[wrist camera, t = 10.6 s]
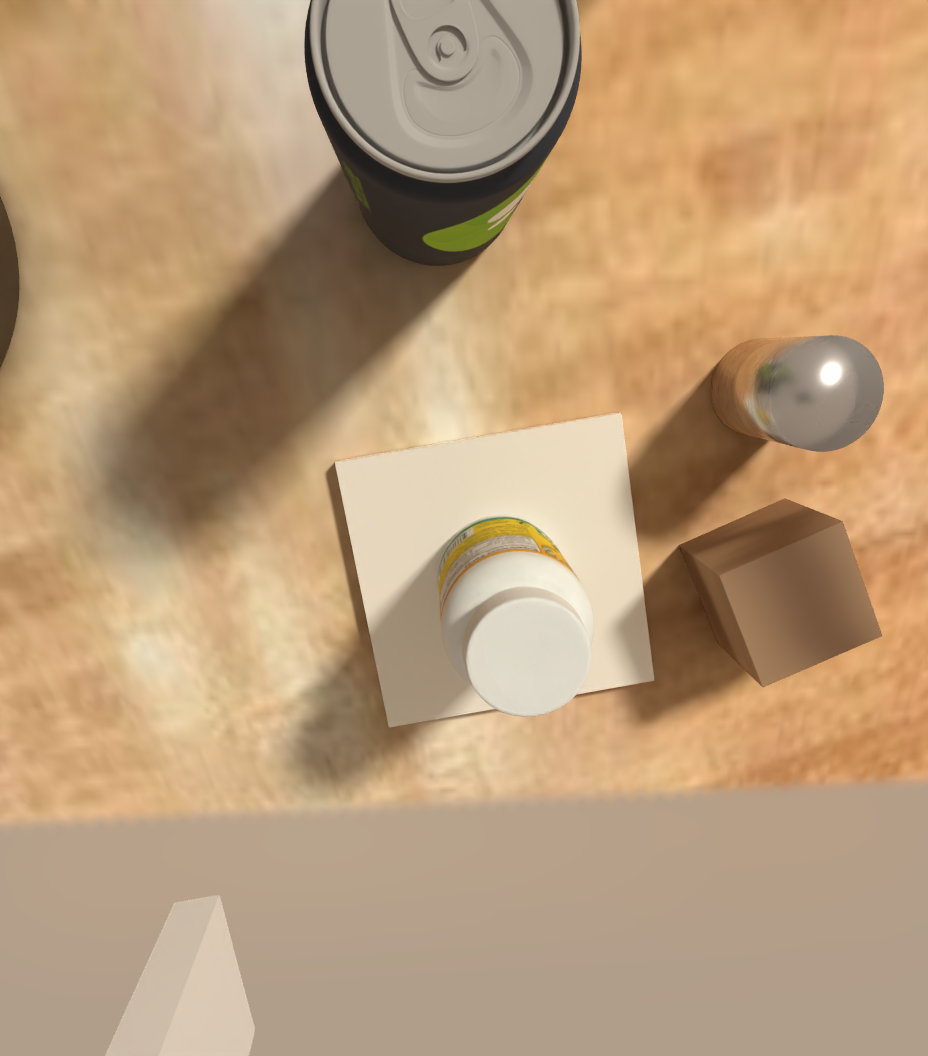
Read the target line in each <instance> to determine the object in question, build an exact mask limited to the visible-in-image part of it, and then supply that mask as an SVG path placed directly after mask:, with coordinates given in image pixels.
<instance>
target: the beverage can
mask: <svg viewBox="0 0 928 1056" xmlns="http://www.w3.org/2000/svg"><path fill="white" fill-rule="evenodd" d="M305 64H306V72H307V78H308V83H309V87H310V91H311V95H312V98H313V101H314V104H315V107H316V110H317V112H318V115H319V117H320V119H321V121H322V124H323V126H324V128H325V130H326V133H327V135H328V137H329V139H330V142H331V144H332V146H333V149H334V151H335V153H336V155H337V158H338V160H339V162H340V164H341V167H342V169H343V171H344V173H345V176H346V178H347V180H348V182H349V185H350V187H351V189H352V192H353V194H354V196H355V198H356V201H357V203H358V205H359V207H360V210H361V212H362V214H363V216H364V218H365V220H366V222H367V224H368V226H369V227H370V229H371V230H372V231H373V233H374V234H375V235H376V237H377V238H378V239H379V240H380V241H381V242H382V243H383V244H384V245H385V246H387V247H388V248H389V249H390V250H392V251H393V252H395V253H396V254H398V255H400V256H401V257H403V258H406V259H408V260H410V261H413V262H416V263H420V264H425V265H450V264H455V263H459V262H462V261H465V260H467V259H469V258H471V257H473V256H475V255H477V254H479V253H480V252H482V251H483V250H484V249H486V248H487V247H488V246H489V245H490V244H491V243H492V242H493V241H494V240H495V239H496V238H497V237H498V236H499V234H500V233H501V232H502V230H503V229H504V227H505V225H506V224H507V222H508V221H509V219H510V217H511V216H512V214H513V212H514V211H515V209H516V208H517V206H518V204H519V203H520V201H521V199H522V198H523V196H524V194H525V193H526V191H527V190H528V188H529V186H530V185H531V183H532V181H533V180H534V178H535V177H536V175H537V173H538V172H539V170H540V168H541V167H542V165H543V163H544V162H545V160H546V159H547V157H548V155H549V154H550V152H551V150H552V149H553V147H554V146H555V144H556V142H557V141H558V139H559V137H560V136H561V134H562V132H563V130H564V128H565V126H566V124H567V122H568V119H569V117H570V114H571V112H572V109H573V106H574V103H575V100H576V96H577V91H578V87H579V81H580V73H581V37H580V25H579V14H578V7H577V1H576V0H311V2H310V6H309V10H308V15H307V20H306V28H305Z"/></svg>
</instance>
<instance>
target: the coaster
mask: <svg viewBox="0 0 928 1056" xmlns="http://www.w3.org/2000/svg"><path fill="white" fill-rule="evenodd" d="M335 466H336V471H337V476H338V481H339V486H340V491H341V496H342V500H343V505H344V510H345V515H346V520H347V525H348V530H349V535H350V540H351V545H352V549H353V554H354V559H355V564H356V569H357V574H358V579H359V584H360V589H361V594H362V598H363V603H364V608H365V613H366V618H367V623H368V628H369V633H370V638H371V643H372V647H373V652H374V657H375V662H376V667H377V672H378V677H379V682H380V687H381V692H382V697H383V701H384V706H385V711H386V716H387V721H388V726H389V727H395V726H401V725H406V724H412V723H418V722H423V721H429V720H435V719H440V718H446V717H452V716H457V715H463V714H469V713H474V712H480V711H486V710H491V709H495V708H493V707H491V706H490V705H489V704H488V703H486V702H485V701H484V700H483V699H482V698H481V697H480V696H479V695H478V694H477V692H476V691H475V689H474V688H473V686H471V685H470V684H469V683H468V682H467V681H465V680H464V679H463V678H462V677H461V676H460V674H459V673H458V672H457V671H456V669H455V668H454V667H453V665H452V663H451V662H450V660H449V658H448V656H447V653H446V651H445V648H444V644H443V640H442V633H441V620H440V602H439V590H438V569H439V564H440V560H441V557H442V555H443V552H444V550H445V548H446V547H447V545H448V543H449V542H450V541H451V539H452V538H453V537H454V536H455V535H456V534H457V533H458V532H459V531H460V530H461V529H463V528H464V527H465V526H467V525H469V524H470V523H472V522H474V521H476V520H479V519H482V518H485V517H490V516H496V515H508V516H515V517H519V518H522V519H525V520H527V521H529V522H531V523H532V524H534V525H535V526H537V527H538V528H539V529H540V530H542V531H543V532H544V533H545V534H546V535H547V536H548V537H549V538H550V539H551V540H552V542H553V543H554V544H555V545H556V547H557V548H558V549H559V551H560V553H561V554H562V556H563V557H564V558H565V560H566V561H567V563H568V564H569V566H570V567H571V569H572V570H573V571H574V573H575V574H576V576H577V577H578V579H579V580H580V582H581V584H582V585H583V587H584V588H585V590H586V592H587V594H588V596H589V599H590V602H591V605H592V609H593V614H594V636H593V641H592V645H591V652H592V659H591V666H590V670H589V674H588V676H587V679H586V681H585V683H584V684H583V686H582V688H581V689H580V691H579V692H578V693H577V694H582V693H587V692H593V691H599V690H604V689H610V688H616V687H621V686H627V685H633V684H638V683H644V682H650V681H654V673H653V665H652V657H651V648H650V640H649V632H648V624H647V616H646V608H645V600H644V592H643V584H642V576H641V568H640V560H639V552H638V543H637V535H636V527H635V519H634V511H633V503H632V495H631V487H630V479H629V471H628V463H627V455H626V446H625V438H624V430H623V422H622V414H621V413H619V412H615V413H610V414H604V415H598V416H592V417H586V418H581V419H575V420H569V421H563V422H558V423H552V424H546V425H540V426H534V427H529V428H523V429H517V430H511V431H505V432H500V433H494V434H488V435H482V436H477V437H471V438H465V439H459V440H453V441H448V442H442V443H436V444H430V445H425V446H419V447H413V448H407V449H401V450H396V451H390V452H384V453H378V454H372V455H367V456H361V457H355V458H349V459H344V460H338V461H336V462H335Z"/></svg>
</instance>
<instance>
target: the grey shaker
mask: <svg viewBox="0 0 928 1056" xmlns="http://www.w3.org/2000/svg"><path fill="white" fill-rule="evenodd" d="M883 393H884V383H883V376H882V372H881V369H880V367H879V364H878V362H877V360H876V359H875V357H874V356H873V354H872V353H871V352H870V351H869V350H868V349H867V348H866V347H865V346H863V345H862V344H860V343H859V342H857V341H855V340H853V339H850V338H847V337H843V336H811V337H792V338H772V339H756V340H750V341H747V342H744V343H741V344H740V345H738V346H736V347H734V348H733V349H732V350H730V351H729V352H728V353H727V354H726V355H725V356H724V357H723V358H722V360H721V361H720V363H719V364H718V366H717V368H716V370H715V372H714V375H713V378H712V383H711V399H712V404H713V407H714V409H715V412H716V414H717V415H718V417H719V418H720V419H721V421H722V422H723V423H724V424H725V425H726V426H728V427H729V428H731V429H732V430H734V431H736V432H738V433H741V434H745V435H749V436H753V437H757V438H761V439H765V440H770V441H774V442H778V443H782V444H786V445H790V446H794V447H798V448H802V449H806V450H811V451H818V452H826V451H833V450H837V449H840V448H843V447H845V446H847V445H849V444H851V443H853V442H854V441H856V440H857V439H859V438H860V437H861V436H862V435H863V434H864V433H865V432H866V431H867V430H868V429H869V428H870V426H871V425H872V423H873V422H874V420H875V419H876V417H877V415H878V413H879V410H880V407H881V404H882V400H883Z"/></svg>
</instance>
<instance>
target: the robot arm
mask: <svg viewBox="0 0 928 1056" xmlns="http://www.w3.org/2000/svg"><path fill="white" fill-rule="evenodd" d="M18 300H19V270H18V259H17V253H16V246H15V241H14V237H13V233H12V229H11V225H10V222H9V219H8V216H7V212H6V210H5V207H4V205H3V202H2V200H1V197H0V366H1V364H2V362H3V360H4V357H5V355H6V352H7V350H8V347H9V344H10V341H11V338H12V334H13V331H14V326H15V322H16V317H17V309H18ZM254 1033H255V1027H254V1024H253V1020H252V1016H251V1012H250V1009H249V1005H248V1001H247V997H246V993H245V990H244V986H243V982H242V978H241V974H240V971H239V967H238V963H237V959H236V955H235V952H234V948H233V944H232V941H231V937H230V933H229V929H228V926H227V922H226V918H225V914H224V910H223V907H222V903H221V899H220V896H219V895H216V896H210V897H204V898H198V899H193V900H187V901H182V902H176V903H174V905H173V907H172V909H171V911H170V914H169V916H168V918H167V920H166V922H165V925H164V927H163V929H162V931H161V934H160V936H159V938H158V940H157V942H156V945H155V947H154V949H153V951H152V953H151V955H150V958H149V960H148V962H147V964H146V966H145V969H144V971H143V973H142V975H141V978H140V980H139V982H138V984H137V986H136V988H135V991H134V993H133V995H132V997H131V999H130V1002H129V1004H128V1006H127V1008H126V1010H125V1013H124V1015H123V1017H122V1019H121V1022H120V1024H119V1026H118V1028H117V1030H116V1033H115V1035H114V1037H113V1039H112V1041H111V1044H110V1046H109V1048H108V1050H107V1052H106V1055H105V1056H249V1053H250V1049H251V1045H252V1041H253V1037H254Z"/></svg>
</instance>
